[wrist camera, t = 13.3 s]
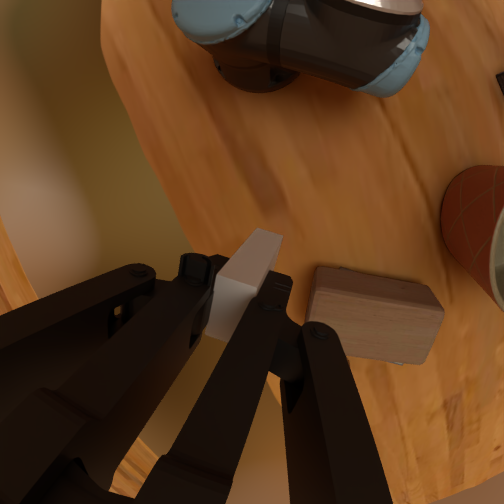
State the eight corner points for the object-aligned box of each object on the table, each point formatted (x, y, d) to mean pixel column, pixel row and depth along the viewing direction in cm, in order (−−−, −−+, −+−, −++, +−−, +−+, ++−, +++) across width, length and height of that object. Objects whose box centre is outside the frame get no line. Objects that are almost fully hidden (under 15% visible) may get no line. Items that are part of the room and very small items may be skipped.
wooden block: (316, 263, 49) (429, 283, 46) (304, 316, 52) (411, 334, 49) (313, 288, 40) (448, 311, 36) (299, 350, 43) (424, 368, 40)
